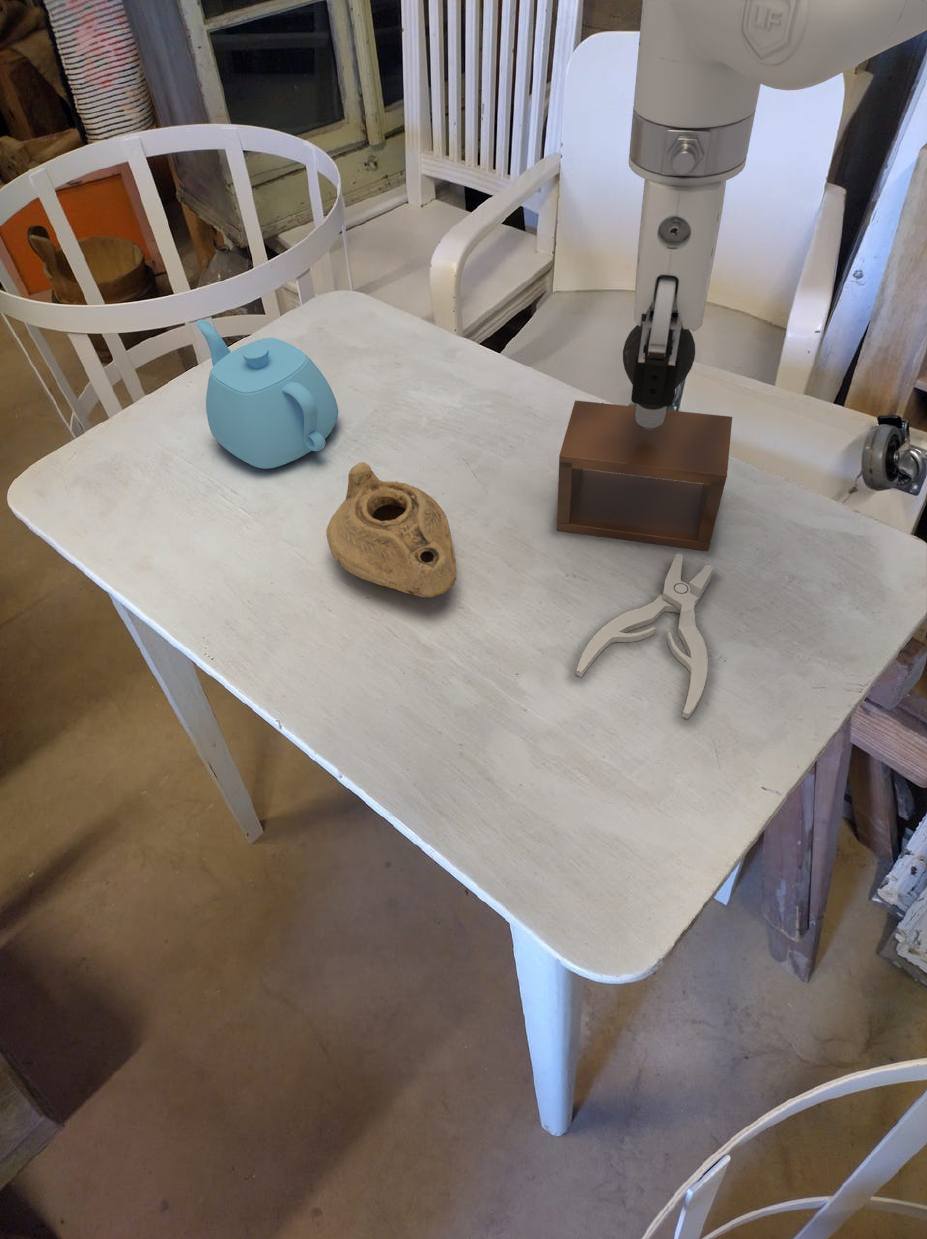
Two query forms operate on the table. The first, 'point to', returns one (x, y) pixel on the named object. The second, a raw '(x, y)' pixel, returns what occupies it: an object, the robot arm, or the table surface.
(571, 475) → the shelf
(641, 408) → the light bulb
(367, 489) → the oil lamp
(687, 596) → the pliers
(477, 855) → the table surface
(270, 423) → the teapot
